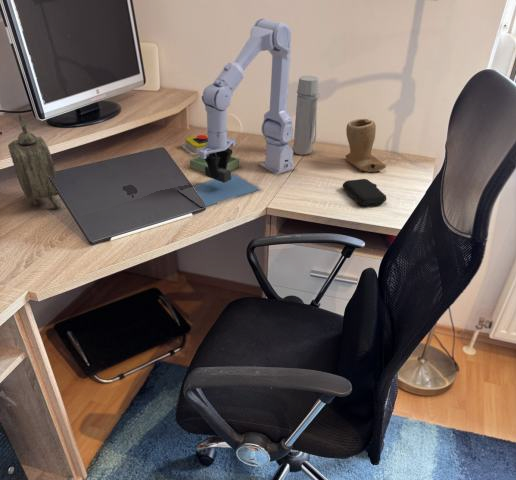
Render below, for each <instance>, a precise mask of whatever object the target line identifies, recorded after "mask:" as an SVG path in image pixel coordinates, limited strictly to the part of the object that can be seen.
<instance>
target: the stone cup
mask: <svg viewBox="0 0 516 480" xmlns="http://www.w3.org/2000/svg"><path fill="white" fill-rule="evenodd" d="M345 128H346V133H345V134H346V138H347V142H348V146H349V153H347V154H345V156H344V157H345V159H346V161H347V162H349V164H351V165H353V166H355V168H357V169H359V170H361V171H364V172H367V173H375V172H378V171H381V170H384V169H386V168H387V165H386V163H384V162H382V161H381V159H378V158H377V157H376V156H374V155H372V150H373V146H374V143H375V142H374V141H375V139H376V133H377V131H376V128H377V126H376V122H375V121H374V120H370V119H369V118H357V119H353V120H351V121H349V122H348V123H347V125H346V127H345Z"/></svg>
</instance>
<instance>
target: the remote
mask: <svg viewBox="0 0 516 480" xmlns="http://www.w3.org/2000/svg"><path fill="white" fill-rule="evenodd" d="M231 175H232V170H231V171H230V170H227V169H224V168H221V167H219V166H218V175H217V177H216V178H215V177H212V176H211V174H210V170H209V167H208V166H207V167H205V173H204V176H205V177H207V178H210V179H211V180H218V181H221V182H223V183H225V182H227V181H229V180H231Z"/></svg>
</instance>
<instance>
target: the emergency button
mask: <svg viewBox="0 0 516 480" xmlns="http://www.w3.org/2000/svg"><path fill="white" fill-rule="evenodd" d="M206 142H208V133H207V134H198V135H196V136H190V137H186V138H185V144H184V145H183V144H182V146H181V148H182V149H183V150H185V151H186V152H187V153H188V154H190V155H191V156H196V155H199V151H200V150H202V149H203V148H204V147H205V146H206Z"/></svg>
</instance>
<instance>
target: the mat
mask: <svg viewBox="0 0 516 480" xmlns="http://www.w3.org/2000/svg"><path fill="white" fill-rule="evenodd" d="M192 186H193V187H194V188H195V190H196V191H197V193H198V194H199V196H200V197H201V199H202V200H203V202H204V204H205V206H204V207H203V208H202V209H205V208H207V207H211V206H213V205H217V204H218V203H220V202H223V201H226V200H229V199H236V198H239V197H243V196H246V195H249V194H252V193H254V192H258V191H260V188H259V187H257V186H255V185H254V184H252V183H250V182H248V181H246V180H245V179H243V178H242V177H240V176H238V175H237V174H235V173H233V174H231V180H229V181H227V182H225V183H223V182H221V181H218V180H215V179H211V180H209V181H205V182H201V183H198V184H195V185H192Z"/></svg>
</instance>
